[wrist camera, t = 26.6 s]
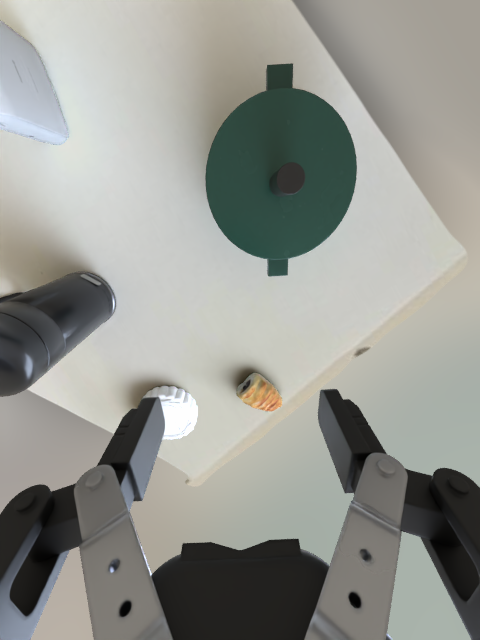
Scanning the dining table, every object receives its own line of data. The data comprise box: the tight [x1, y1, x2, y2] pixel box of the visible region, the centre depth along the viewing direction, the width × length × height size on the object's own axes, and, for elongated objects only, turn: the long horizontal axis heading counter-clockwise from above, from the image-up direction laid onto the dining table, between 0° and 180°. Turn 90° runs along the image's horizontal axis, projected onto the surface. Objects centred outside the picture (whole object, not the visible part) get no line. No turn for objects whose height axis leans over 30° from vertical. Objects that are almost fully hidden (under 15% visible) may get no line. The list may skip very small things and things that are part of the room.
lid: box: [206, 88, 357, 260], centre depth 25 cm, size 16×16×7 cm
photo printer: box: [0, 20, 69, 145], centre depth 27 cm, size 10×4×12 cm, turn 10°
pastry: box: [237, 373, 282, 411], centre depth 51 cm, size 9×7×4 cm
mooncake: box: [142, 386, 198, 440], centre depth 52 cm, size 12×12×4 cm
